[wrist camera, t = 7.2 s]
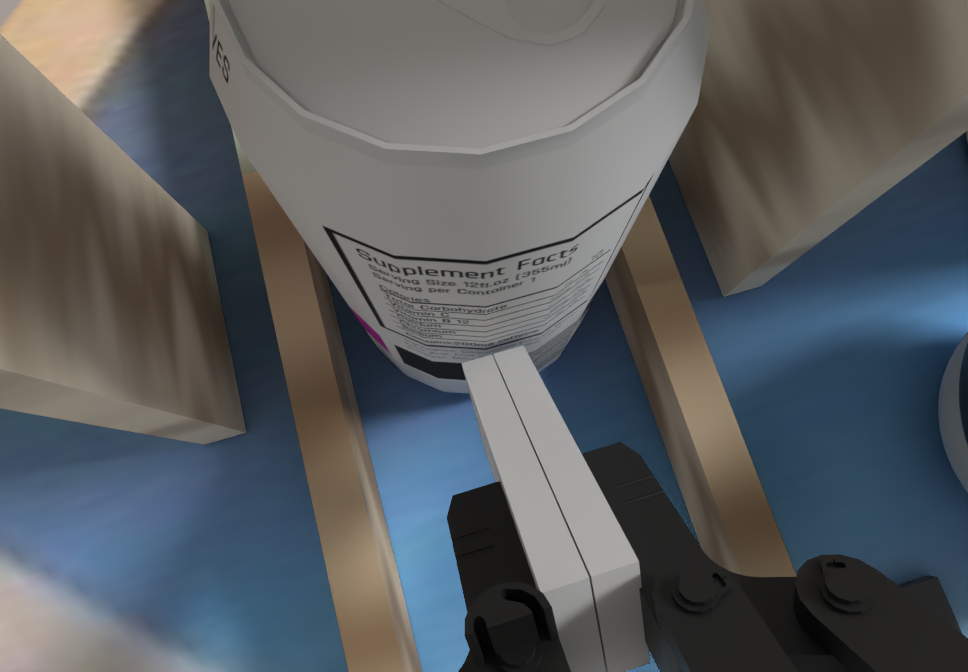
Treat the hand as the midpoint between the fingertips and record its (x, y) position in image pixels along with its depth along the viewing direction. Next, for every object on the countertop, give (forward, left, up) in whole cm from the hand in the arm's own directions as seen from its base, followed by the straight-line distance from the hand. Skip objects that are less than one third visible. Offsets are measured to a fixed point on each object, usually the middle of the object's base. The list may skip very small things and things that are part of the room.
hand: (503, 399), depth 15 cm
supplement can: (+4, -3, -7) cm, 9 cm away
